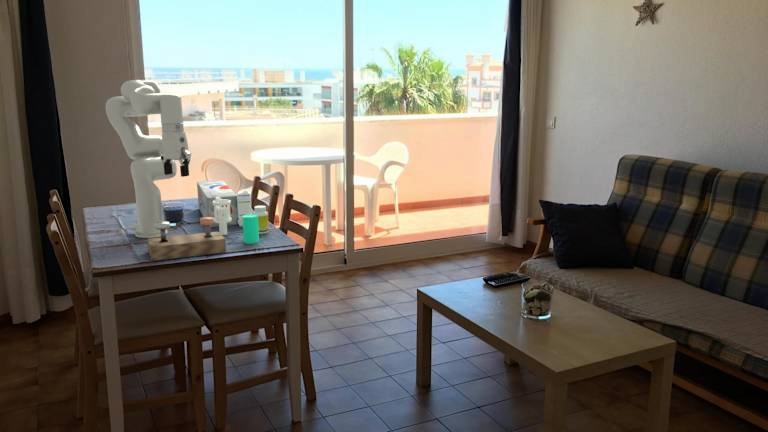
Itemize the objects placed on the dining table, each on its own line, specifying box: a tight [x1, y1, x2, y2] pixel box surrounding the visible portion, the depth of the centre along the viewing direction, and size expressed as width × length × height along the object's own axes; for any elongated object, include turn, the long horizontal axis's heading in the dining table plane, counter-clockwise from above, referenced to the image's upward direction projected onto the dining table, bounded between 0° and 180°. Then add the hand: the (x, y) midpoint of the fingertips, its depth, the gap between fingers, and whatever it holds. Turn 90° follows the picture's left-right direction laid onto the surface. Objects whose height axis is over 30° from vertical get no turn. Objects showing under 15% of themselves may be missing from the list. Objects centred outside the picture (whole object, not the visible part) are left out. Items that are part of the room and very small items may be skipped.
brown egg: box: [199, 216, 214, 238], centre depth 239 cm, size 5×5×7 cm
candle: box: [242, 213, 260, 245], centre depth 251 cm, size 6×6×12 cm
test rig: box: [146, 231, 227, 262], centre depth 237 cm, size 26×12×5 cm, turn 116°
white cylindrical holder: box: [213, 197, 232, 236], centre depth 262 cm, size 7×7×15 cm
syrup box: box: [236, 190, 253, 227], centre depth 277 cm, size 6×6×14 cm
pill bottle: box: [252, 205, 270, 235], centre depth 265 cm, size 6×6×11 cm
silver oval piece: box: [155, 220, 171, 243], centre depth 233 cm, size 5×5×7 cm
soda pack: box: [196, 179, 239, 228], centre depth 293 cm, size 41×13×14 cm, turn 22°
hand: (176, 175), depth 236 cm, fingers open, 9 cm apart
